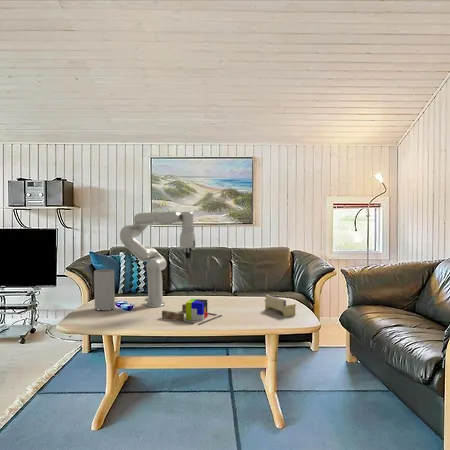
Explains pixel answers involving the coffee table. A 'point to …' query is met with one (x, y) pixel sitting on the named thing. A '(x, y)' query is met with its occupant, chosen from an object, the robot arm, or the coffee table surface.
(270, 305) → the toy sofa
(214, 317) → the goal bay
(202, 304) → the puzzle toy
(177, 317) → the chute
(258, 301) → the coffee table surface
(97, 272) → the grey rounded tower
